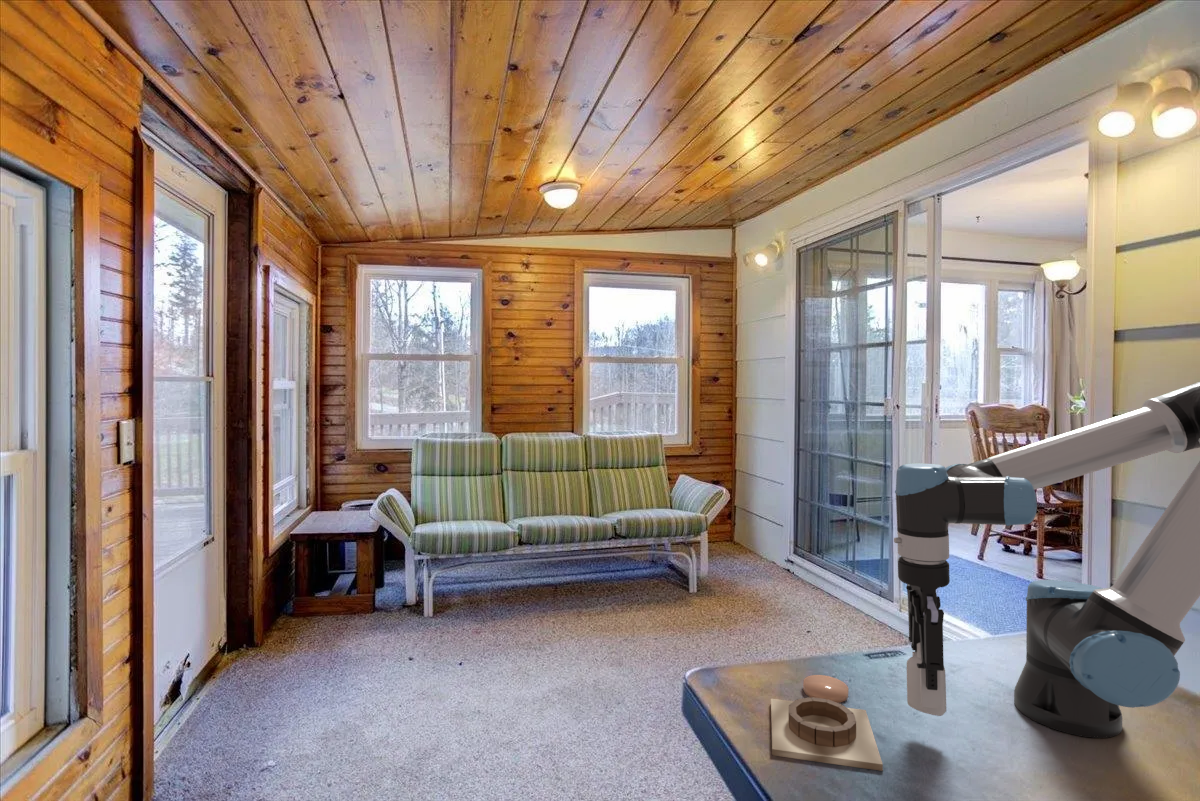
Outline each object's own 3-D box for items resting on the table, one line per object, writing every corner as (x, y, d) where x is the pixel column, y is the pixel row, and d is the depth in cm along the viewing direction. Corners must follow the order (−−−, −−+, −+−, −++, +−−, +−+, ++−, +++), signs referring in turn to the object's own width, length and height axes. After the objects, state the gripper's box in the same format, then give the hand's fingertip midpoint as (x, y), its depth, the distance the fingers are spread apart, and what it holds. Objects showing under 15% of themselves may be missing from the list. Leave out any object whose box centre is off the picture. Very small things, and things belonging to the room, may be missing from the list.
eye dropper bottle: (924, 698, 105) (922, 628, 105) (951, 715, 100) (949, 641, 100) (903, 703, 104) (901, 632, 104) (928, 719, 99) (927, 645, 98)
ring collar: (865, 715, 108) (865, 695, 108) (882, 770, 93) (882, 748, 93) (770, 704, 112) (771, 685, 112) (772, 755, 97) (772, 733, 97)
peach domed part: (840, 684, 120) (841, 676, 120) (854, 705, 112) (854, 697, 112) (798, 681, 121) (799, 673, 121) (808, 703, 113) (809, 694, 113)
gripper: (887, 544, 111) (891, 672, 111) (910, 573, 94) (914, 724, 94) (933, 545, 109) (937, 676, 109) (965, 575, 92) (969, 729, 93)
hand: (926, 698), depth 102 cm, fingers closed on eye dropper bottle, 4 cm apart
